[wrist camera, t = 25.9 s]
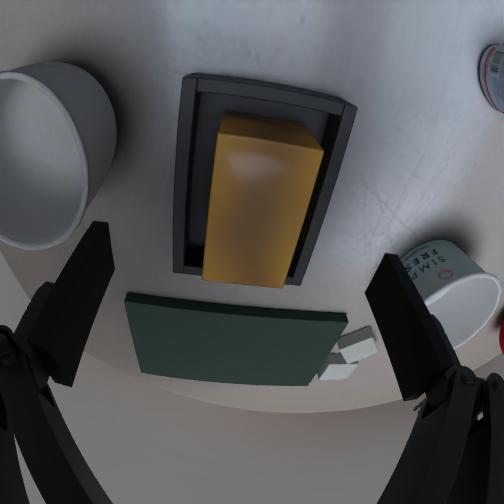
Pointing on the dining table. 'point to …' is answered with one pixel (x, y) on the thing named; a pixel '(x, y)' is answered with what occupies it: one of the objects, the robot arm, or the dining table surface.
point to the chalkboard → (230, 341)
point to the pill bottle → (493, 75)
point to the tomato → (502, 337)
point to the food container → (453, 288)
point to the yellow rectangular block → (258, 198)
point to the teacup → (51, 151)
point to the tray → (204, 144)
